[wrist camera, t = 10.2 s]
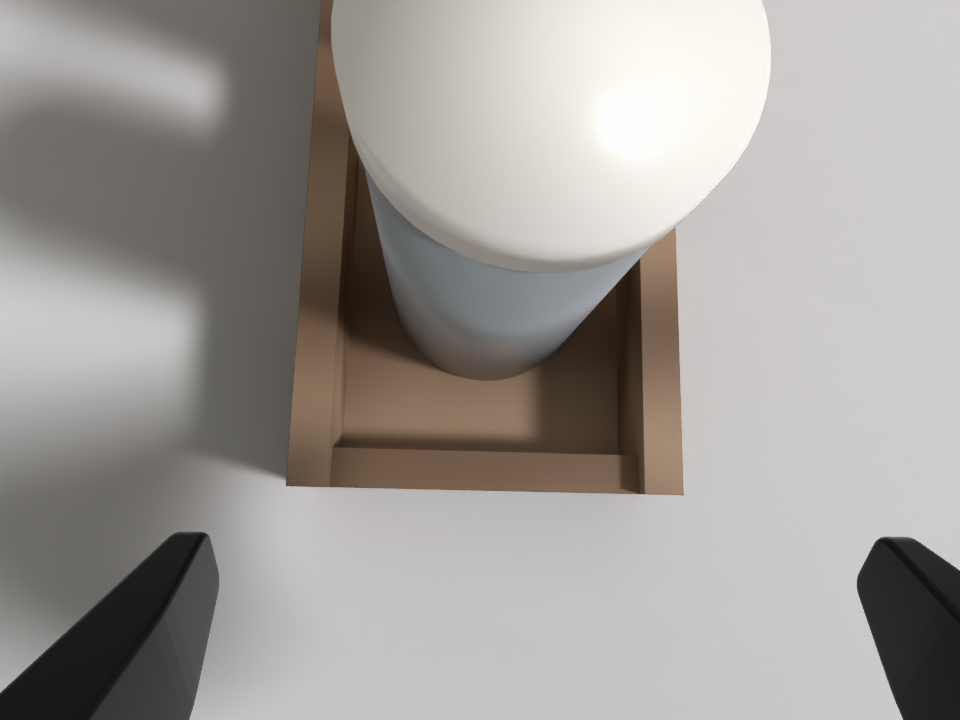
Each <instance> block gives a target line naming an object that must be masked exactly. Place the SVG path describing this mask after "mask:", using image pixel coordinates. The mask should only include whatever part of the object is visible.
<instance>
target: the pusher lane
mask: <svg viewBox="0 0 960 720" xmlns="http://www.w3.org/2000/svg"><path fill="white" fill-rule="evenodd" d="M333 2H334V0H321V12H320V25H319V39H318V53H317V66H316V80H315V94H314V107H313V121H312V135H311V148H310V162H309V176H308V189H307V203H306V217H305V230H304V244H303V258H302V272H301V285H300V299H299V313H298V326H297V340H296V354H295V367H294V381H293V395H292V408H291V422H290V436H289V449H288V463H287V477H286V486H306V487H353V488H396V489H440V490H483V491H527V492H570V493H614V494H654V495H684V494H683V462H682V429H681V396H680V363H679V331H678V298H677V265H676V232H675V228H674V229H673V230H671V231H670V232H669V233H668V234H667V235H665V236H664V237H663V238H662V239H660V240H658V241H657V242H655V243H653V244H652V245H651V246H650V247H649V248H648V250H647V251H646V252H645V253H644V254H643V255H642V256H641V257H640V258H639V259H638V261H637V262H636V263H635V264H634V265H633V266H632V267H631V268H630V269H629V270H628V272H627V273H626V274H625V275H624V276H623V277H622V278H621V279H620V280H619V281H618V283H617V284H616V285H615V286H614V287H613V288H612V289H611V290H610V291H609V292H608V294H607V295H606V296H605V297H604V298H603V299H602V300H601V301H600V302H599V303H598V305H597V306H596V307H595V308H594V309H593V310H592V311H591V312H590V313H589V314H588V316H587V317H586V318H585V319H584V320H583V321H582V322H581V323H580V324H579V326H578V327H577V328H576V329H575V330H574V331H573V332H572V333H571V334H570V335H569V337H568V338H567V339H566V340H565V341H564V342H563V343H562V344H561V345H560V346H559V348H558V349H557V350H556V351H555V352H554V353H553V354H552V355H551V356H550V357H549V358H548V359H546V360H545V361H544V362H543V363H542V364H540V365H538V366H537V367H535V368H534V369H532V370H530V371H528V372H526V373H523V374H521V375H518V376H515V377H512V378H508V379H502V380H494V381H481V380H471V379H467V378H463V377H459V376H456V375H454V374H451V373H448V372H446V371H444V370H442V369H441V368H439V367H437V366H435V365H434V364H433V363H431V362H430V361H428V360H427V359H426V358H425V357H424V356H423V355H421V354H420V353H419V352H418V351H417V350H416V348H415V347H414V346H413V345H412V343H411V342H410V341H409V339H408V338H407V336H406V335H405V333H404V331H403V329H402V327H401V325H400V323H399V320H398V317H397V314H396V310H395V306H394V302H393V297H392V293H391V288H390V283H389V279H388V274H387V269H386V265H385V260H384V256H383V251H382V246H381V242H380V237H379V233H378V228H377V223H376V219H375V214H374V210H373V205H372V200H371V196H370V191H369V187H368V182H367V177H366V173H365V168H364V165H363V162H362V160H361V158H360V156H359V154H358V151H357V149H356V147H355V145H354V142H353V139H352V135H351V132H350V129H349V125H348V122H347V118H346V114H345V110H344V106H343V101H342V97H341V93H340V89H339V85H338V80H337V76H336V72H335V66H334V59H333V52H332V46H331V15H332V8H333Z"/></svg>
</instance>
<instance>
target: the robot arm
mask: <svg viewBox="0 0 960 720" xmlns="http://www.w3.org/2000/svg"><path fill="white" fill-rule="evenodd" d="M218 590H219V572H218V568H217V564H216V560H215V556H214V552H213V548H212V544H211V540H210V537H209V536H208V535H207V534H206V533H203V532H177V533H174V534H173V535H171V536H170V537H168V538H167V539H166V540H165V541H164V542H163V543H162V544H161V545H160V546H159V547H158V548H157V549H155V550H154V551H153V552H152V553H151V554H150V555H149V556H148V557H147V558H146V559H145V560H144V561H142V562H141V563H140V564H139V565H138V566H137V567H136V568H135V569H134V570H133V571H132V572H131V573H130V574H128V575H127V576H126V577H125V578H124V579H123V580H122V581H121V582H120V583H119V584H118V585H117V586H115V587H114V588H113V589H112V590H111V591H110V592H109V593H108V594H107V595H106V596H105V597H104V598H102V599H101V600H100V601H99V602H98V603H97V604H96V605H95V606H94V607H93V608H92V609H91V610H89V611H88V612H87V613H86V614H85V615H84V616H83V617H82V618H81V619H80V620H79V621H78V622H76V623H75V624H74V625H73V626H72V627H71V628H70V629H69V630H68V631H67V632H66V633H65V634H64V635H62V636H61V637H60V638H59V639H58V640H57V641H56V642H55V643H54V644H53V645H52V646H51V647H49V648H48V649H47V650H46V651H45V652H44V653H43V654H42V655H41V656H40V657H39V658H38V659H36V660H35V661H34V662H33V663H32V664H31V665H30V666H29V667H28V668H27V669H26V670H25V671H23V672H22V673H21V674H20V675H19V676H18V677H17V678H16V679H15V680H14V681H13V682H12V683H11V684H9V685H8V686H7V687H6V688H5V689H4V690H3V691H2V692H1V693H0V720H189V719H190V715H191V712H192V709H193V705H194V701H195V697H196V693H197V688H198V684H199V679H200V675H201V670H202V665H203V661H204V656H205V651H206V646H207V642H208V637H209V632H210V628H211V623H212V618H213V614H214V609H215V604H216V600H217V595H218ZM857 590H858V594H859V598H860V601H861V603H862V606H863V609H864V612H865V615H866V618H867V621H868V624H869V627H870V630H871V633H872V636H873V639H874V642H875V644H876V647H877V650H878V653H879V656H880V659H881V662H882V665H883V668H884V671H885V674H886V677H887V680H888V683H889V685H890V688H891V691H892V693H893V696H894V699H895V701H896V704H897V706H898V708H899V711H900V713H901V715H902V718H903V720H960V570H958V569H957V568H955V567H954V566H953V565H951V564H950V563H948V562H947V561H945V560H944V559H943V558H941V557H940V556H938V555H937V554H935V553H934V552H933V551H931V550H930V549H928V548H927V547H925V546H924V545H923V544H921V543H920V542H918V541H916V540H915V539H912V538H909V537H881V538H880V539H878V540H877V541H876V542H875V543H874V545H873V547H872V549H871V551H870V553H869V555H868V557H867V559H866V560H865V562H864V564H863V566H862V568H861V570H860V572H859V574H858V578H857Z"/></svg>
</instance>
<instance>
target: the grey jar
mask: <svg viewBox="0 0 960 720" xmlns="http://www.w3.org/2000/svg"><path fill="white" fill-rule="evenodd" d="M331 46H332V52H333V59H334V66H335V72H336V76H337V80H338V85H339V89H340V93H341V97H342V101H343V106H344V110H345V114H346V118H347V122H348V125H349V129H350V132H351V135H352V139H353V142H354V145H355V147H356V149H357V151H358V154H359V156H360V158H361V160H362V162H363V165H364V168H365V173H366V177H367V182H368V187H369V191H370V196H371V200H372V205H373V210H374V214H375V219H376V223H377V228H378V233H379V237H380V242H381V246H382V251H383V256H384V260H385V265H386V269H387V274H388V279H389V283H390V288H391V293H392V297H393V302H394V306H395V310H396V314H397V317H398V320H399V323H400V325H401V327H402V329H403V331H404V333H405V335H406V336H407V338H408V339H409V341H410V342H411V343H412V345H413V346H414V347H415V348H416V350H417V351H418V352H419V353H420V354H421V355H423V356H424V357H425V358H426V359H427V360H428V361H430V362H431V363H433V364H434V365H435V366H437V367H439V368H441V369H442V370H444V371H446V372H448V373H451V374H454V375H456V376H459V377H463V378H467V379H471V380H481V381H494V380H502V379H508V378H512V377H515V376H518V375H521V374H523V373H526V372H528V371H530V370H532V369H534V368H535V367H537V366H538V365H540V364H542V363H543V362H544V361H545V360H546V359H548V358H549V357H550V356H551V355H552V354H553V353H554V352H555V351H556V350H557V349H558V348H559V346H560V345H561V344H562V343H563V342H564V341H565V340H566V339H567V338H568V337H569V335H570V334H571V333H572V332H573V331H574V330H575V329H576V328H577V327H578V326H579V324H580V323H581V322H582V321H583V320H584V319H585V318H586V317H587V316H588V314H589V313H590V312H591V311H592V310H593V309H594V308H595V307H596V306H597V305H598V303H599V302H600V301H601V300H602V299H603V298H604V297H605V296H606V295H607V294H608V292H609V291H610V290H611V289H612V288H613V287H614V286H615V285H616V284H617V283H618V281H619V280H620V279H621V278H622V277H623V276H624V275H625V274H626V273H627V272H628V270H629V269H630V268H631V267H632V266H633V265H634V264H635V263H636V262H637V261H638V259H639V258H640V257H641V256H642V255H643V254H644V253H645V252H646V251H647V250H648V248H649V247H650V246H651V245H652V244H653V243H655V242H657V241H658V240H660V239H662V238H663V237H664V236H665V235H667V234H668V233H669V232H670V231H671V230H673V229H674V228H675V227H676V226H678V225H679V224H680V223H681V222H682V221H683V220H684V219H685V218H686V217H687V216H688V215H689V214H690V213H691V212H692V210H693V209H694V208H695V207H696V206H697V205H698V204H699V203H700V202H701V201H702V200H703V199H704V198H705V197H706V196H707V195H708V193H709V192H710V191H711V190H712V189H713V188H714V187H715V186H716V185H717V184H718V183H719V182H720V181H721V179H722V178H723V177H724V176H725V175H726V174H727V173H728V172H729V171H730V170H731V169H732V167H733V166H734V165H735V163H736V162H737V160H738V159H739V157H740V156H741V154H742V153H743V151H744V150H745V148H746V147H747V145H748V143H749V141H750V139H751V137H752V135H753V133H754V131H755V129H756V127H757V125H758V123H759V120H760V116H761V113H762V110H763V107H764V104H765V100H766V97H767V91H768V84H769V78H770V67H771V44H770V36H769V29H768V21H767V17H766V13H765V10H764V6H763V2H762V0H334V2H333V8H332V15H331Z"/></svg>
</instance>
